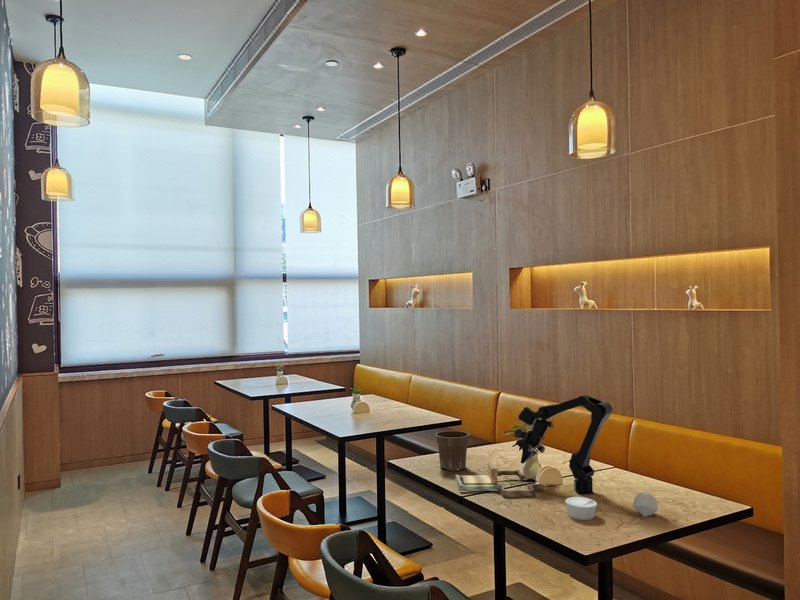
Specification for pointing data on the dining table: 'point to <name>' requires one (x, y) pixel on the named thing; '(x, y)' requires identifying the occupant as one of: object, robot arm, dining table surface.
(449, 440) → the plant pot
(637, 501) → the die
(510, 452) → the dining table surface
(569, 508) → the ramekin
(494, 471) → the beige l-shaped bracket
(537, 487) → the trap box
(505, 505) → the dining table surface
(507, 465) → the dining table surface
